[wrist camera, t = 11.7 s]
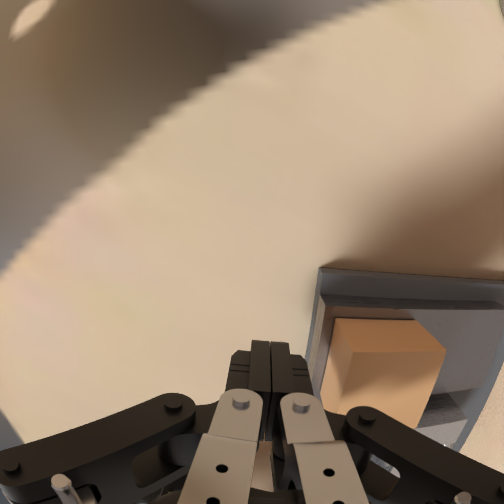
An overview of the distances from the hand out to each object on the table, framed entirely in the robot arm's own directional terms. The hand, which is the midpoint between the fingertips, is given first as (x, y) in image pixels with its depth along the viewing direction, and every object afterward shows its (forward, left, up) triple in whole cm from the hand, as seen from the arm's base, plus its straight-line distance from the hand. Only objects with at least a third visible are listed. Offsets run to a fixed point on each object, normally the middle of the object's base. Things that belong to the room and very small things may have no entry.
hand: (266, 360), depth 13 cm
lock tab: (0, +5, -1) cm, 5 cm away
